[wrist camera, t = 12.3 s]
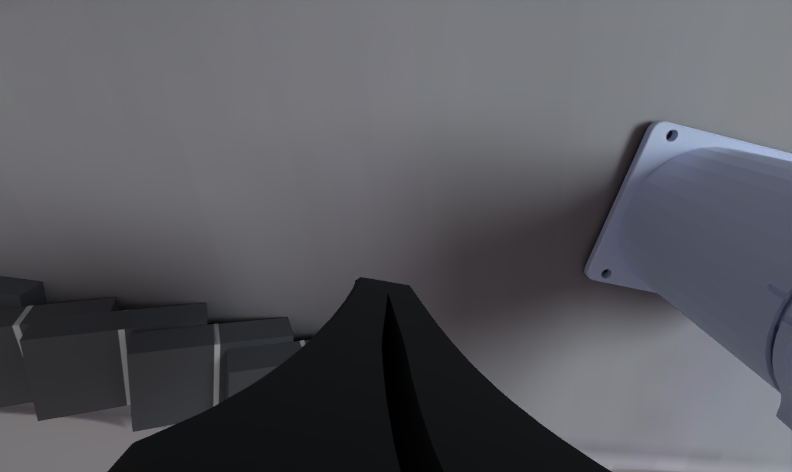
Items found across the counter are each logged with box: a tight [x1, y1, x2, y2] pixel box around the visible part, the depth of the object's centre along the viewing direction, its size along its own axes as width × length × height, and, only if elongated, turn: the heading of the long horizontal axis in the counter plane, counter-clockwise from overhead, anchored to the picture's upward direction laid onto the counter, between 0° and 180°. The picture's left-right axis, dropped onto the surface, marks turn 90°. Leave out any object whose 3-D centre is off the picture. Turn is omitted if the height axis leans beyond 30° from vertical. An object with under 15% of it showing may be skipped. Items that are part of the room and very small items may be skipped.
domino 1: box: [127, 317, 294, 432], centre depth 20 cm, size 2×4×7 cm
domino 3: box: [0, 297, 120, 407], centre depth 20 cm, size 2×4×7 cm
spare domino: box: [226, 340, 309, 399], centre depth 21 cm, size 2×4×7 cm
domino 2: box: [20, 303, 207, 421], centre depth 20 cm, size 2×4×7 cm
